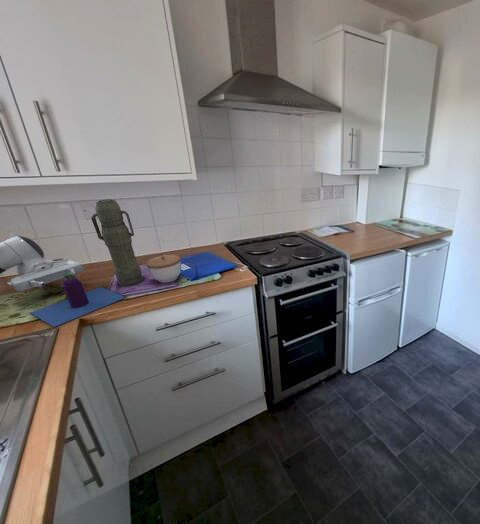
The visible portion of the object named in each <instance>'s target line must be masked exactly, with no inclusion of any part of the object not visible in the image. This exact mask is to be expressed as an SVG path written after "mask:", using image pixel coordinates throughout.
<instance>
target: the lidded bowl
mask: <svg viewBox="0 0 480 524" xmlns="http://www.w3.org/2000/svg"><path fill="white" fill-rule="evenodd" d="M145 264H146V265H145V266H146V267H147V270H148V273H149V274H150V276H151V277H152V278H153V279H154V280H156V281H158V282H159V283H163V284H166V283H171V282H175V281H176V280H177V279H179V278H178V277H179V276H180V275H181V272H182V262H181V256H179V255H177V254H164V255H162V254H161V255H159V256H154V257H152V258H150V259H148V260H147V261H146V262H145Z"/></svg>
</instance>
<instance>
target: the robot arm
mask: <svg viewBox="0 0 480 524" xmlns="http://www.w3.org/2000/svg"><path fill="white" fill-rule="evenodd" d="M44 253H45V252H44V250H43V249H42V248H41V246H40V245H39V244H38V243H37V242H35V241H34V240H32V239H31V238H29V237H26V236H22V235H16V236H13V237H10V238H8V239H5V240H2V241H0V275H1V274H3V273H4V272H6V271H7V270H10V269H12V268H13V270H14V272H16V273H17V274H18V276H14V277H12V278H11V279H10V280H9V281H7V283H6V284H7V285H8V286H12V287H13V288H14V289H15V291H16V292H23V291H27V290H30V289H33V288H43V287H46V284H49V283H52V282H55V281H58V280H62V279H65V277H64V275H65V274H67V273H72V275H73V276H74V277H77V274H81V273H83V272H84V271H85V268H84V266H83V264H82V263H81V262H79V261H76V260H73V259H68V258H67V257H61V258H56V259H44V258H45V254H44Z"/></svg>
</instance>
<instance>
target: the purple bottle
mask: <svg viewBox="0 0 480 524" xmlns="http://www.w3.org/2000/svg"><path fill="white" fill-rule="evenodd" d="M64 277H65V278H63V280H62V284H61V286H62V289H63V291H64V294H65V295H66V296H65V297H66V299H68V301H69V303H70V306H71V307H72V308H80V307H83V306H85V305H87V304H88V303H89V300H88V298H87V295H86V290H85V288H84V285H83V282H82V281H81V279H79V278H78V277H77V276H75V277H74V276H73V275H72V273H67V274H65V275H64Z"/></svg>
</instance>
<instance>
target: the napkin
mask: <svg viewBox="0 0 480 524" xmlns="http://www.w3.org/2000/svg"><path fill="white" fill-rule="evenodd" d="M85 293H86V295H87V298H88V300H89V303H88V304H87V305H85V306H83V307H80V308H72V307H71V306H70V303H69V301H68V299H67V298H66V299H64V300H61V301H58V302H56V303H53V304H50V305H48V306H47V305H46V306H44V307H42V308H40V309H35V310H33V311H31V312H30V314H31V315H32V316H34V317H36V318H38V319H39V320H41V321H43V322H44V323H45V324H48V325H49V326H51V327H53V328H57V327H60V326H61V325H64V324H66V323H68V322H71V321H73V320H77V319H78V318H81V317H84V316H85V315H88V314H91V313H93V312H96V311H98V310H100V309H102V308H105V307H107V306H110V305H112V304H115V303H117V302H119V301H122V300H124V299H126V296H124V295H121V294H119V293H117V292H114V291H111V290H109V289H107V288H105V287H102V286H100V287H97V288H95V289H91V290H89V291H85Z"/></svg>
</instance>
